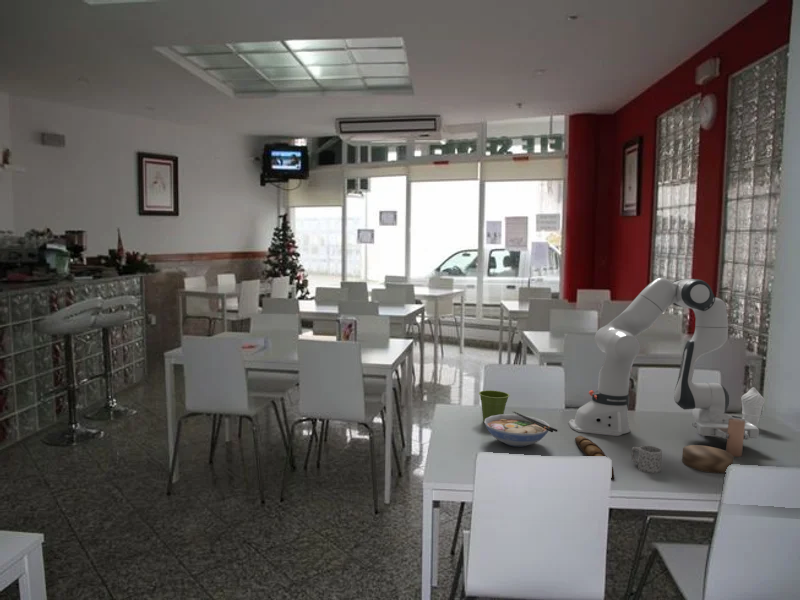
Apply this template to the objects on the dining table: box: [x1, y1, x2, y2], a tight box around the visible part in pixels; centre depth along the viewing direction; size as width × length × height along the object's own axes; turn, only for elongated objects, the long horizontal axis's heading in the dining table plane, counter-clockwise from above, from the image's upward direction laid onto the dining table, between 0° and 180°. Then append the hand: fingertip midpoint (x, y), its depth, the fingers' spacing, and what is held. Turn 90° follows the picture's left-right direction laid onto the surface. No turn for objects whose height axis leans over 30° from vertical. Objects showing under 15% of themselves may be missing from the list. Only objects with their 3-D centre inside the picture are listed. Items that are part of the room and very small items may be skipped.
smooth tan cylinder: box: [725, 418, 745, 458], centre depth 219 cm, size 5×5×12 cm
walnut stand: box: [681, 444, 735, 474], centre depth 208 cm, size 15×15×4 cm
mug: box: [630, 445, 663, 474], centre depth 204 cm, size 10×7×7 cm, turn 35°
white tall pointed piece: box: [740, 387, 766, 427], centre depth 252 cm, size 8×8×16 cm
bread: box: [574, 435, 615, 480], centre depth 211 cm, size 38×5×5 cm, turn 2°
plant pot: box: [478, 390, 510, 422], centre depth 248 cm, size 12×12×11 cm
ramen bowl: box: [483, 411, 559, 448], centre depth 223 cm, size 25×23×8 cm
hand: (736, 436), depth 218 cm, fingers open, 5 cm apart
